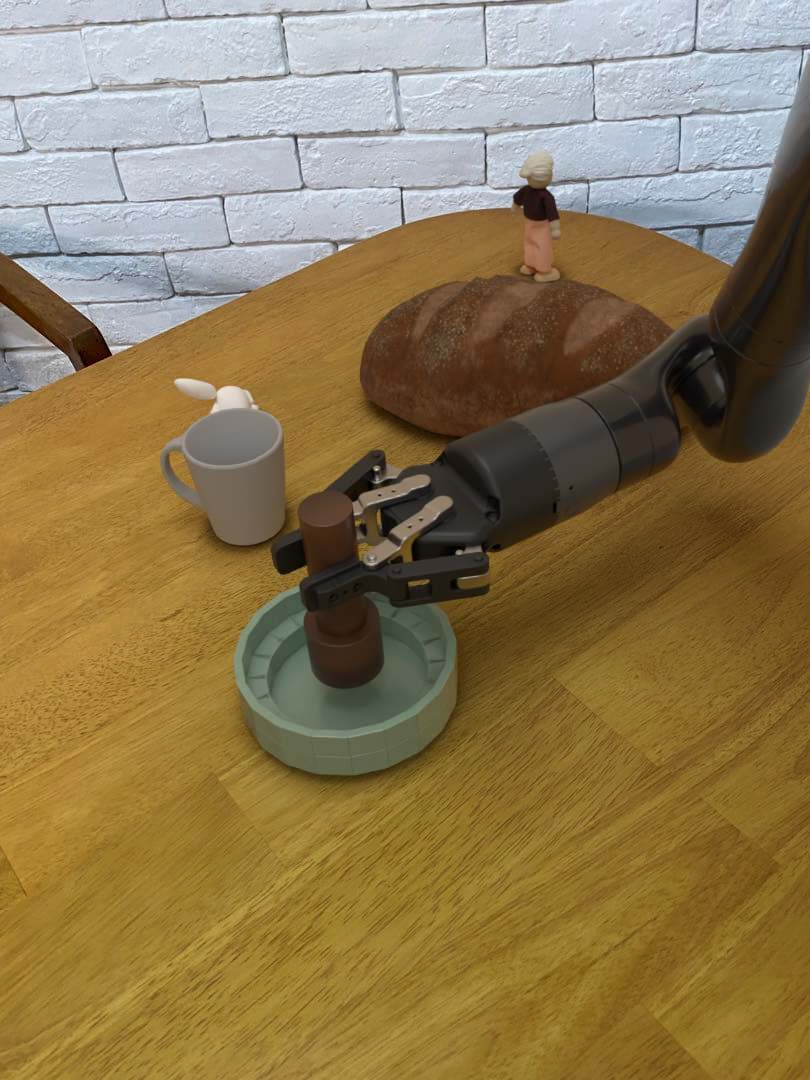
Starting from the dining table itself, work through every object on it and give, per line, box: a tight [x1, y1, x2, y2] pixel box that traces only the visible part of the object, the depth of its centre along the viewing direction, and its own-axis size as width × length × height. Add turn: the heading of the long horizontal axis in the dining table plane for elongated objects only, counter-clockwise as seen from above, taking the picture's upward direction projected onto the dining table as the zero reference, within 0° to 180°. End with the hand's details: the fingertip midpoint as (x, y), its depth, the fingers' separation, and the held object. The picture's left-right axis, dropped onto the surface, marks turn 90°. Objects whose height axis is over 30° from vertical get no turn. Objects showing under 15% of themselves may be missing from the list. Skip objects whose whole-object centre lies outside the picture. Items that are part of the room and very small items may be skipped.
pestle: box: [297, 490, 385, 689], centre depth 69 cm, size 5×5×13 cm
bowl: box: [232, 583, 459, 777], centre depth 74 cm, size 14×14×4 cm
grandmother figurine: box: [510, 150, 562, 283], centre depth 113 cm, size 8×4×13 cm, turn 43°
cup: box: [159, 408, 286, 546], centre depth 87 cm, size 8×10×8 cm
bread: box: [359, 274, 687, 438], centre depth 96 cm, size 16×29×11 cm, turn 75°
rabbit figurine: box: [173, 377, 260, 414], centre depth 98 cm, size 6×4×8 cm
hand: (290, 578), depth 66 cm, fingers closed on pestle, 3 cm apart
